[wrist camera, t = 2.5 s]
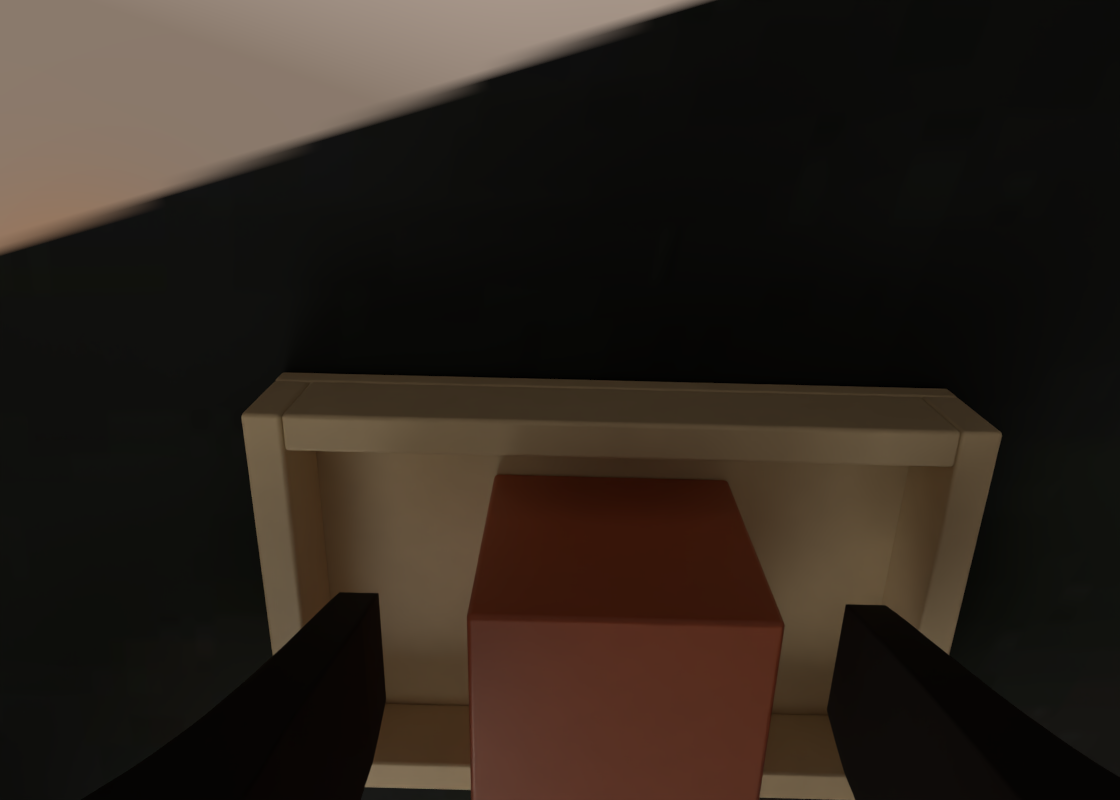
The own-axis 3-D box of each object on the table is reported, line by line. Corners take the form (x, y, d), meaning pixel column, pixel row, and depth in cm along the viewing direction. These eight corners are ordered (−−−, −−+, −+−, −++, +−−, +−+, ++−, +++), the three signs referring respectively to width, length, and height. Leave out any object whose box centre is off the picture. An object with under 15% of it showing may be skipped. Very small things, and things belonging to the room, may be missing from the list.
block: (727, 478, 14) (786, 624, 10) (707, 668, 15) (752, 858, 11) (494, 473, 14) (466, 614, 10) (495, 663, 15) (471, 850, 11)
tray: (947, 387, 14) (1004, 432, 12) (877, 724, 16) (915, 803, 14) (282, 371, 14) (239, 413, 12) (319, 709, 16) (288, 786, 14)
